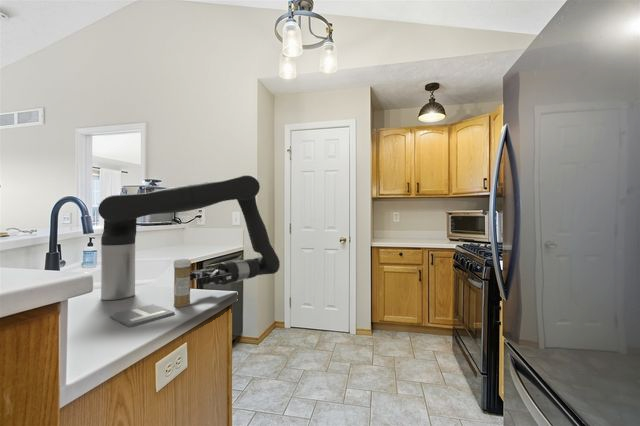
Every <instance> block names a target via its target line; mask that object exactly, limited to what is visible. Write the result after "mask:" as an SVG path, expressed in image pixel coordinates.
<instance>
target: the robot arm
mask: <svg viewBox="0 0 640 426" xmlns="http://www.w3.org/2000/svg"><path fill="white" fill-rule="evenodd" d="M260 188H261V186H260V182H259V180H258V179H256V177H254V176H252V175H247V174H245V175H241V176H238V177H234V178H230V179H226V180H222V181H220V180H219V181H210V182H209V181H207V182H197V183H190V184H189V183H188V184H182V185H181V184H180V185H176V186H172V187H167V188H163V189H158V190H155V191H154V190H153V191H149V192H144V193H132V194H113V195H109V196H107V197H105V198H104V199H102V200H101V202H100V203H99V205H98V209H97V211H98V214H99V216H100V217H101V218H102V219H103V231H102V235H101V239H100V246H101V247H100V249H101V251H100V252H101V253H100V254H101V256H100V258H101V263H100V269H101V270H100V272H101V273H100V300H103V301H114V300H121V299H127V298H131V297H133V296H135V295H136V237H137V220H138V218H142V217H146V216H151V215H161V214H163V215H164V214H174V213H175V214H176V213H184V212H189V211H194V210H198V209H203V208H207V207H210V206H212V205H216V204H218V203H221V202H226V201H227V202H228V201H237V203H238V205H239V207H240V210H241V212H242V215H243V218H244V221H245V224H246V228H247V232H248V236H249V240H250V243H251V246H252V250H253V252H255V253H259V254H260V255H261V256H259V257H254V258H250V259H249V258H248V259H242V260H241V259H240V260H239V259H237V260H230V261H224V262H220V263H218V264H217V265H216V268H209V269H208V268H202V269H197V270H196V269H195V270H190V281H196V285H197V286H200V287H201V286H204V285H208V284H210V285H219V284H220V285H221V286H226V285H229V284H233V283H234V284H235V283H239V282H242V281H244V280H250V279H252V278H255V277H257V276H261V275H274V274H276V273H277V272H278V271H279V270H280V266H281V265H280V259H279V256H278V255H277V253H276V251H275V249H274V248H273V246H272V245H271V241H270V238H269V235H268V230H267V228H266V225H265V223H264V220H263V219H262V217H261V214H260V211H259V209H258V205H257V204H258V203H257V199H256V196H257V195H258V193H259V192H260Z"/></svg>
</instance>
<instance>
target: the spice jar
mask: <svg viewBox="0 0 640 426" xmlns="http://www.w3.org/2000/svg"><path fill="white" fill-rule="evenodd" d="M191 263H192V261H191V260H190V259H189V258H187V259H186V258H181V259H176V260H175V259H174V261H173V270H174V273H173V275H174V276H173V277H174V281H173V298H174V299H173V306H174V307H175V308H182V307H187V306H190V305H191V280H190V273H191Z"/></svg>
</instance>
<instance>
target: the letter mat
mask: <svg viewBox="0 0 640 426" xmlns="http://www.w3.org/2000/svg"><path fill="white" fill-rule="evenodd" d="M173 315H175V311H173V310H170V309H167V308H165V307H162V306H159V305H156V304H154V303H152V304H148V305H144V306H139V307H135V308H131V309H128V310H123V311H120V312H115V313H111V314H109V316H108V317H109V318H110V319H112V320H114V321H116V322H118V323H120V324H122V325H124V326H127V327H128V328H132V327H136V326H138V325H141V324H146V323H149V322H153V321H156V320H160V319H163V318H167V317H170V316H173Z"/></svg>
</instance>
